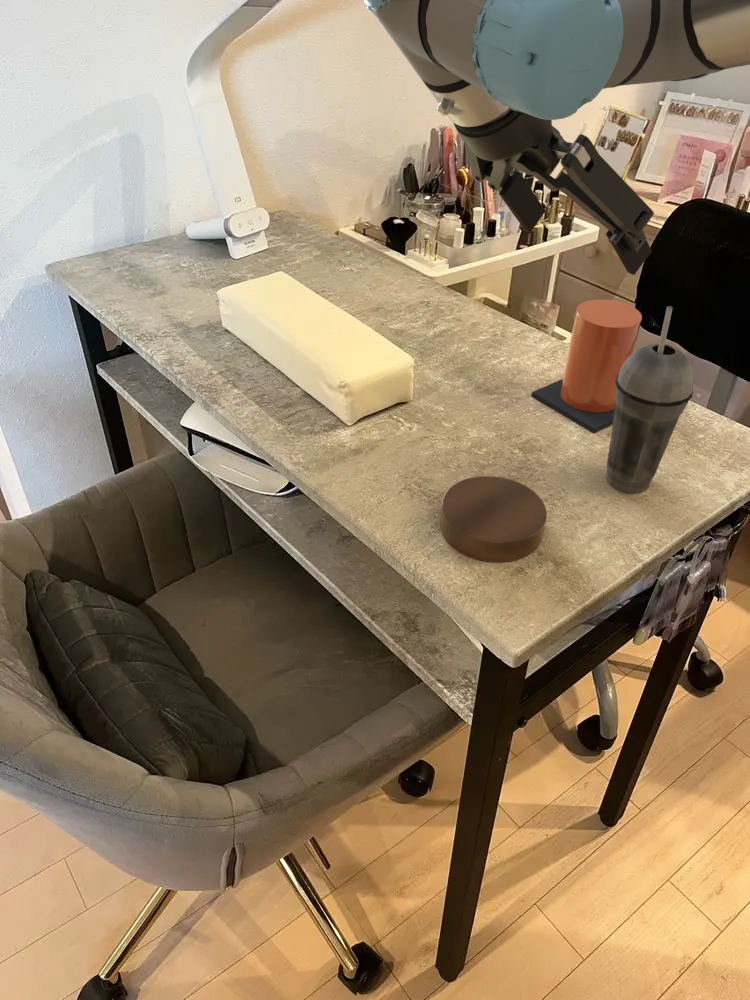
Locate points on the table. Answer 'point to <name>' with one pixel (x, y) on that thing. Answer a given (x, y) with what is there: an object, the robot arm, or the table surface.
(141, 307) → the table surface
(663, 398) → the beverage cup
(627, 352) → the terracotta cylinder
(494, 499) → the saucer
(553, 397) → the mat
